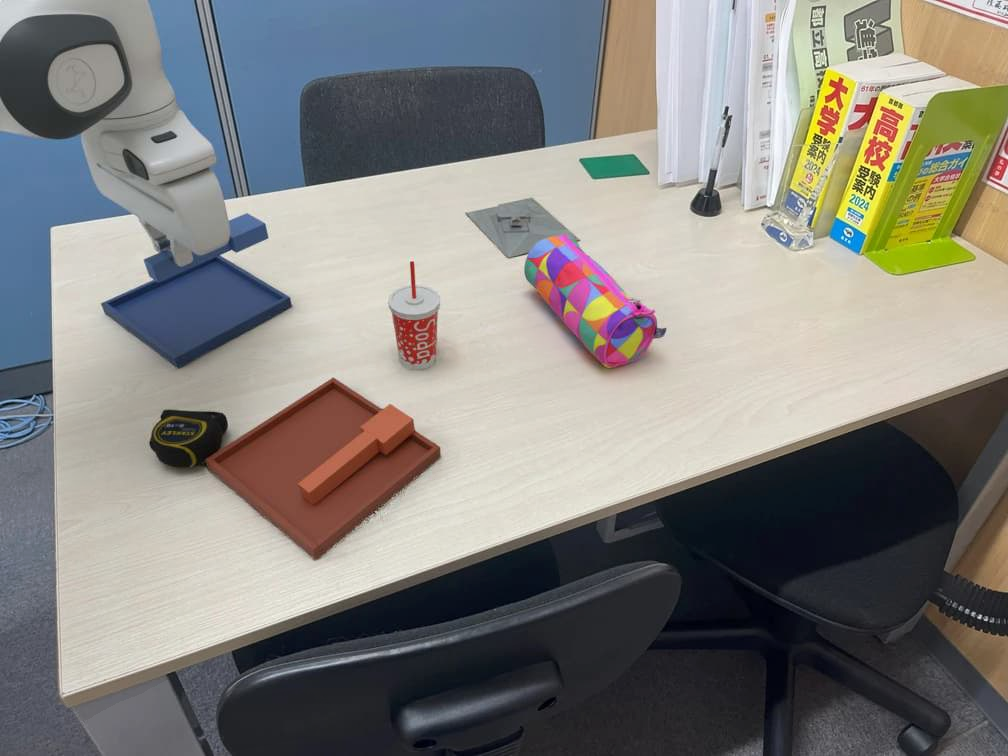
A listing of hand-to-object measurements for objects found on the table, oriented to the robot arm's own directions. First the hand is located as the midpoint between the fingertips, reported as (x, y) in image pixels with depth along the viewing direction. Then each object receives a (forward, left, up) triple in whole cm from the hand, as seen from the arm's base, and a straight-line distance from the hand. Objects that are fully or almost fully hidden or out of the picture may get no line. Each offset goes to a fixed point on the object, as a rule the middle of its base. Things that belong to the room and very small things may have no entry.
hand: (175, 257), depth 77 cm
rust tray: (-1, -23, -16) cm, 28 cm away
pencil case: (+38, -30, -16) cm, 51 cm away
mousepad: (+53, -2, -16) cm, 55 cm away
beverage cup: (+18, -18, -16) cm, 30 cm away
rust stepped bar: (+1, -26, -14) cm, 30 cm away
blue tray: (+6, +11, -16) cm, 20 cm away
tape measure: (-9, -10, -16) cm, 21 cm away
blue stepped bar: (+5, 0, -2) cm, 5 cm away
